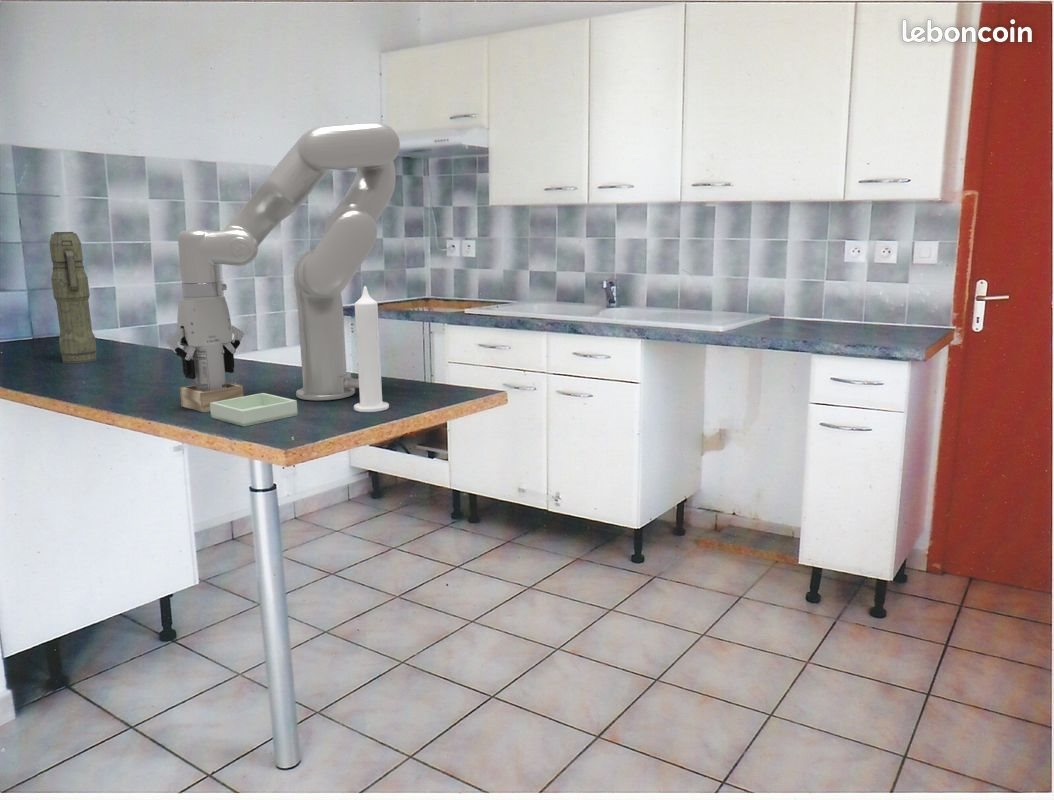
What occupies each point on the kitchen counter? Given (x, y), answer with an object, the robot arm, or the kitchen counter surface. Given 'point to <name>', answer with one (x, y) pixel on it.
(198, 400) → the wooden square frame
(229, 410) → the tray
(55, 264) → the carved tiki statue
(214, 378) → the energy drink can
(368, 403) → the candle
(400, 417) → the kitchen counter surface
